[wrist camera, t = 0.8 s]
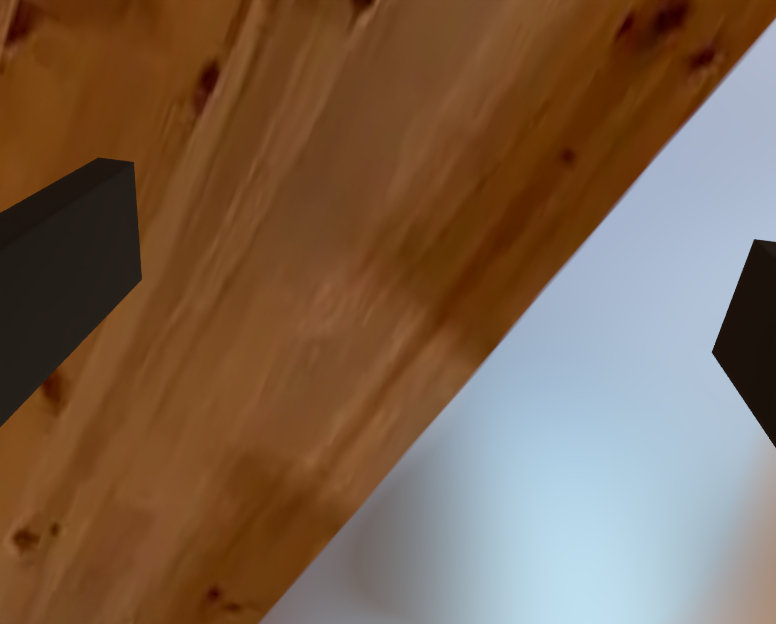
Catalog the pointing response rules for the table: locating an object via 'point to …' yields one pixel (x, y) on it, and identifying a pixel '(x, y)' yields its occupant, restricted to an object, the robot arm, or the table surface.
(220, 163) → the table surface
